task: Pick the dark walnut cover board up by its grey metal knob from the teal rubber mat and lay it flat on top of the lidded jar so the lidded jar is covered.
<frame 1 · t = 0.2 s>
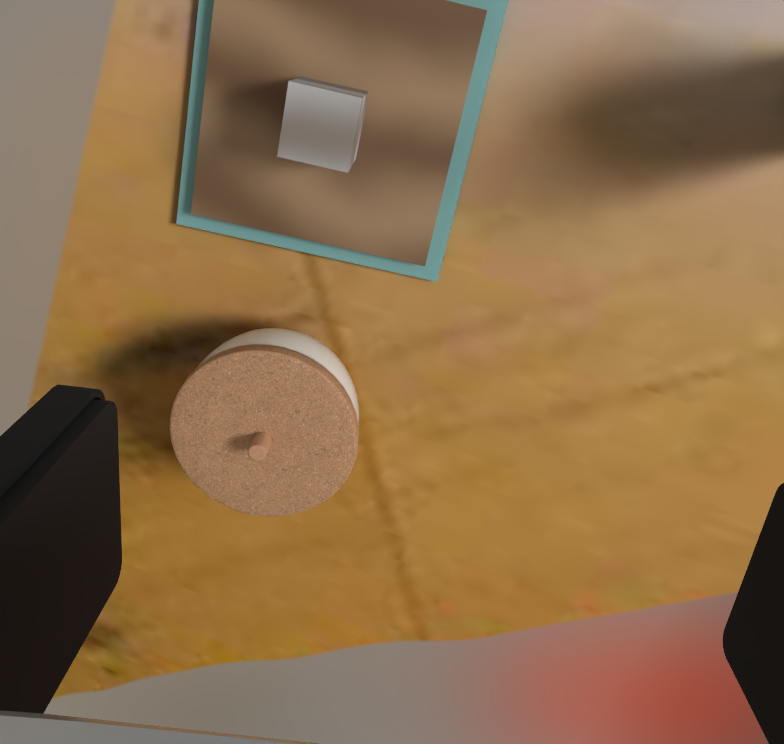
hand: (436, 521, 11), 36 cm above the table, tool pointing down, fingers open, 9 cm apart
teal mat: (332, 116, 43), on the table
lidded jar: (286, 380, 50), on the table
walnut cover: (331, 116, 42), resting on teal mat
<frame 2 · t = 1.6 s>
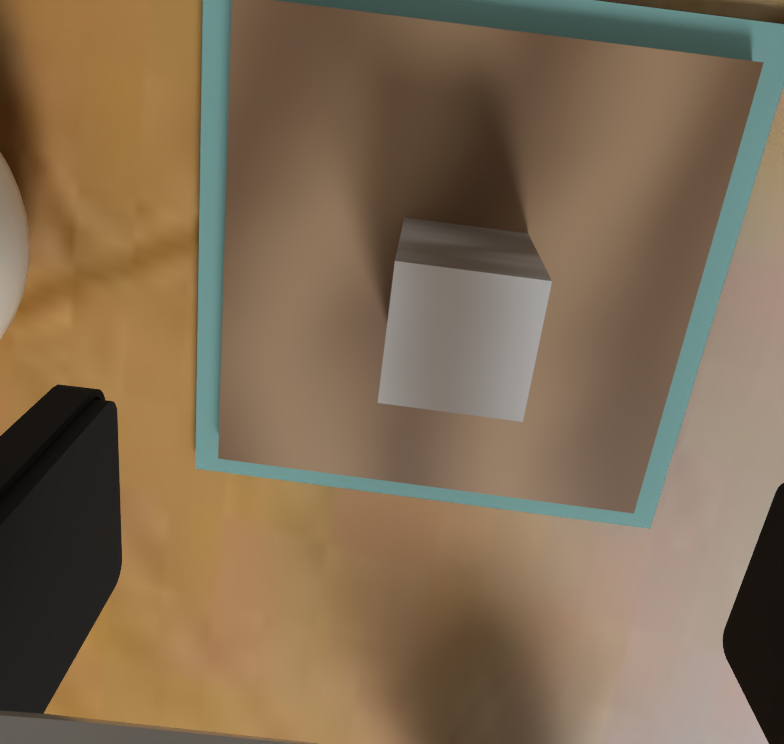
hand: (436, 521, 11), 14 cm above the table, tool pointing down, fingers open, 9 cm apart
teal mat: (456, 273, 24), on the table
walnut cover: (456, 277, 23), resting on teal mat
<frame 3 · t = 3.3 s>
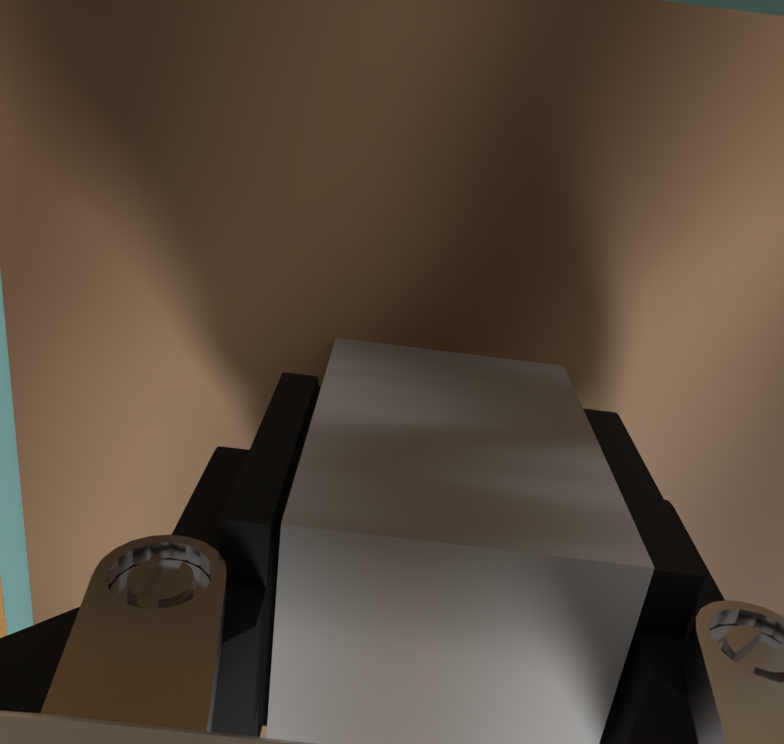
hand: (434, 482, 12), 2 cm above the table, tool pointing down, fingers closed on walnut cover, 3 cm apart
teal mat: (433, 416, 14), on the table
walnut cover: (433, 429, 13), resting on teal mat, touching gripper
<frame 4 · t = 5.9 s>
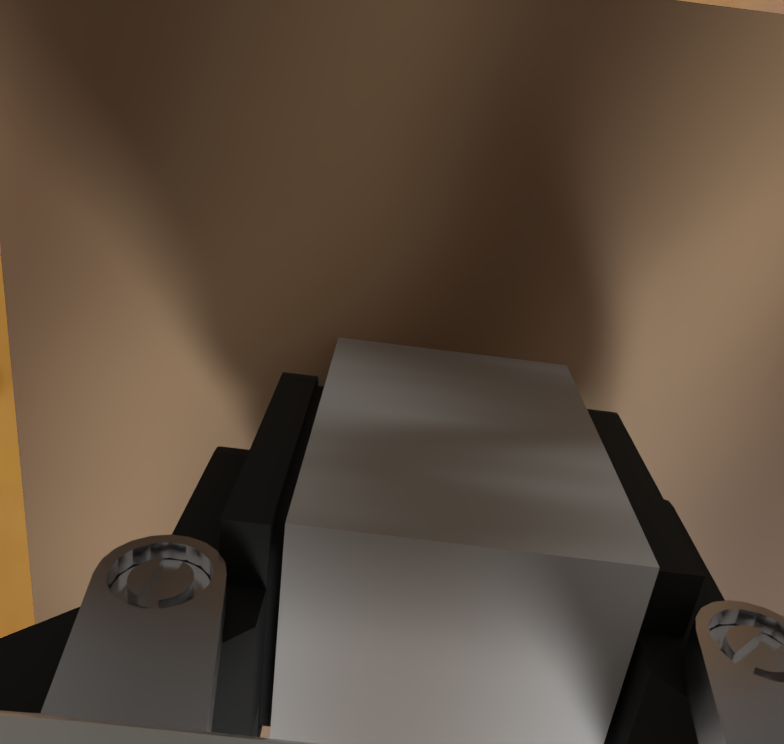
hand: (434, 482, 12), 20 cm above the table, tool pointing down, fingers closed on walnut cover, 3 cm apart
walnut cover: (435, 429, 13), point 18 cm above the table, touching gripper
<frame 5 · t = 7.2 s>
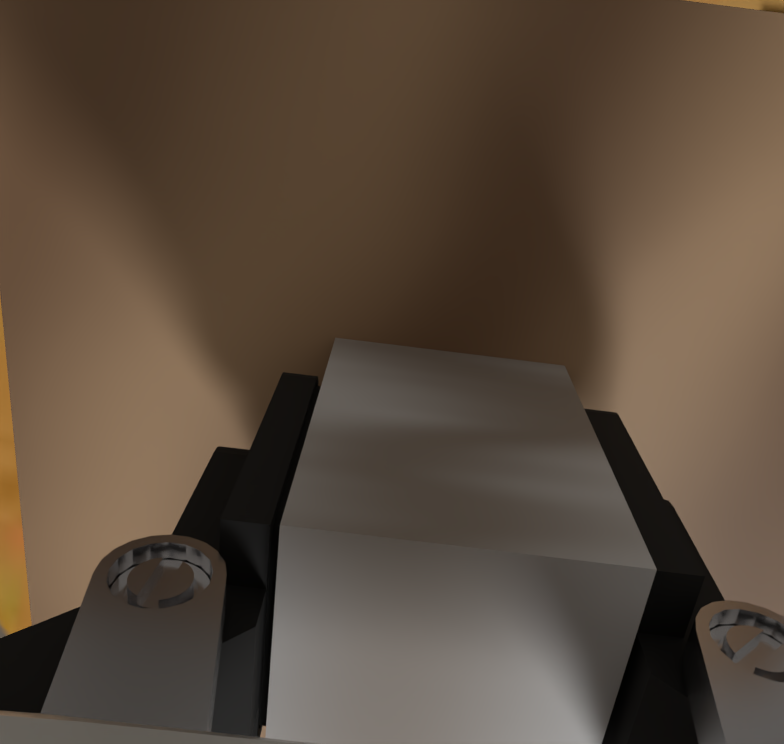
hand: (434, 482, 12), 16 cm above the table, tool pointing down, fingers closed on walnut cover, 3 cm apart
walnut cover: (433, 429, 13), point 14 cm above the table, touching gripper
when the fingers open (12 cm above the table, at t = 8.4 s): walnut cover drops 1 cm, resting on lidded jar.
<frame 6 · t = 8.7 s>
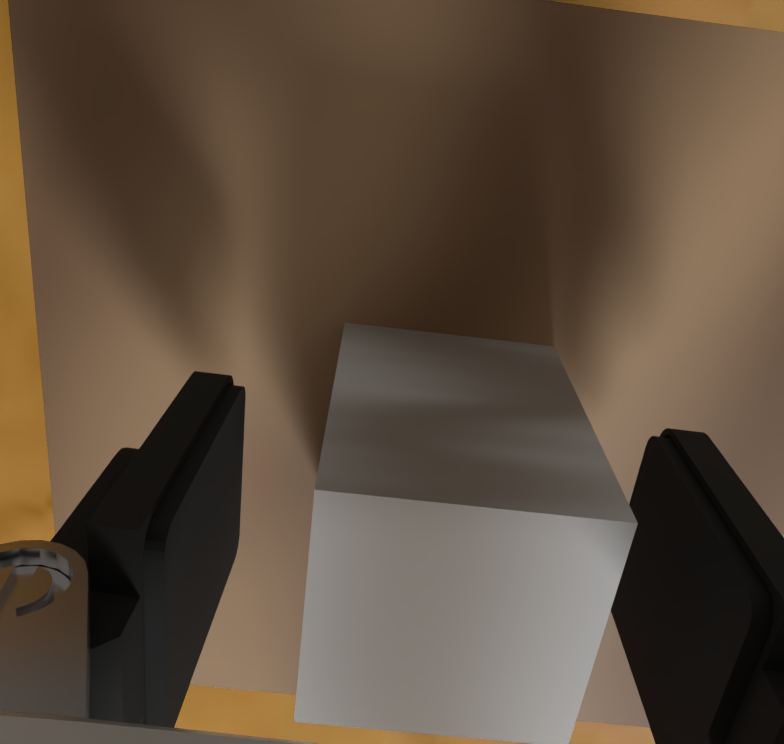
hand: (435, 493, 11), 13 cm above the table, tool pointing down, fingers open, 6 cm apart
walnut cover: (433, 405, 14), point 9 cm above the table, touching lidded jar
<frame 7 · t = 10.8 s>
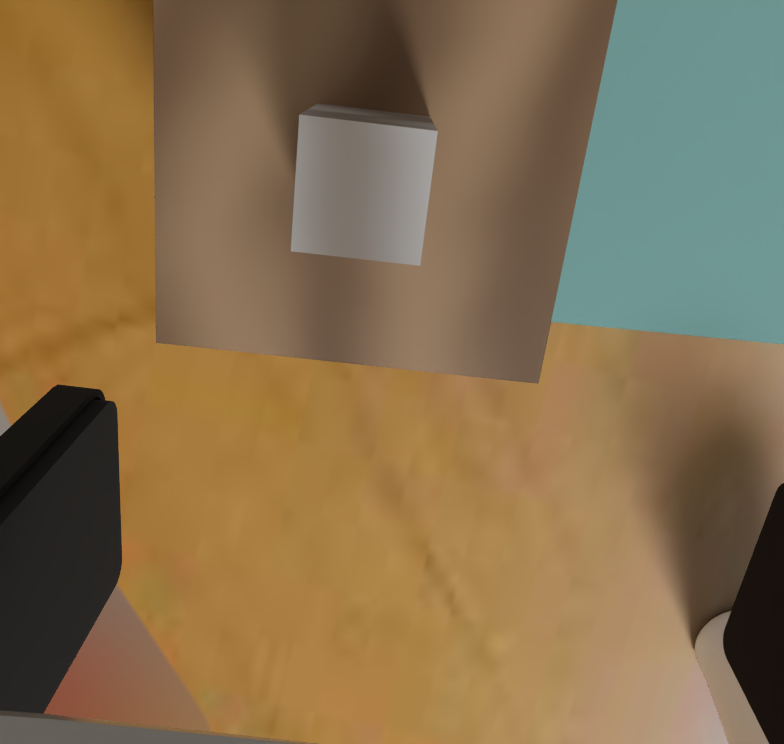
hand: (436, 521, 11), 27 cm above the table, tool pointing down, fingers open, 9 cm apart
teal mat: (748, 169, 34), on the table
walnut cover: (369, 164, 25), point 9 cm above the table, touching lidded jar
drinking glass: (734, 636, 45), on the table
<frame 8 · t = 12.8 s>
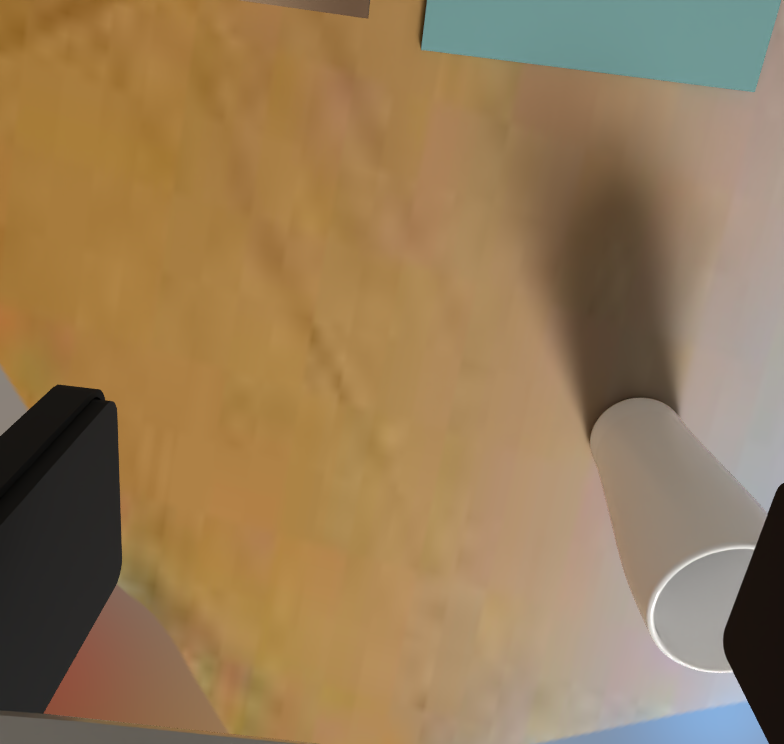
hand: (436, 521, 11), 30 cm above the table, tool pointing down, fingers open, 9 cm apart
drinking glass: (633, 433, 44), on the table
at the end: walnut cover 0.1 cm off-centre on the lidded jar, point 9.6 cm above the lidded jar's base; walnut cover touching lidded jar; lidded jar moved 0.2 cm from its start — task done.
